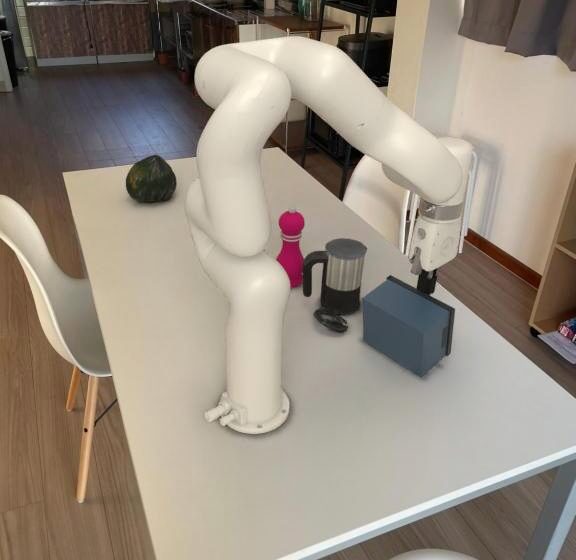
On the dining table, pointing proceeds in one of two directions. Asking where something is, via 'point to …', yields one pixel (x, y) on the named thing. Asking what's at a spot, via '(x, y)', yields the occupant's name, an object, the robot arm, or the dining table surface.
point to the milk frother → (336, 280)
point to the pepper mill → (291, 245)
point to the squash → (151, 180)
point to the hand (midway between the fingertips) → (425, 291)
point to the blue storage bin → (407, 325)
